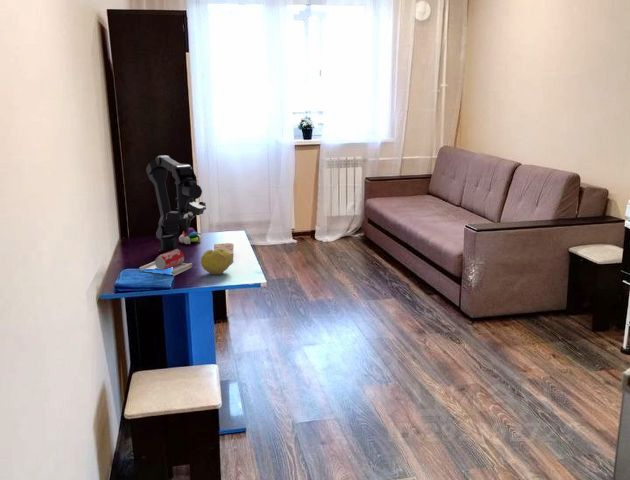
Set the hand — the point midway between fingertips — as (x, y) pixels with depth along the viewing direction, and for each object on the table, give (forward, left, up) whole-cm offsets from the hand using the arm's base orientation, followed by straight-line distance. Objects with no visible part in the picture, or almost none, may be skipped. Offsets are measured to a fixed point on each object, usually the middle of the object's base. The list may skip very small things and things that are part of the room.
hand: (186, 232), depth 248 cm
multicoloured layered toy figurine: (-16, +26, -12) cm, 32 cm away
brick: (+12, +9, -12) cm, 19 cm away
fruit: (+22, -13, -12) cm, 28 cm away
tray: (0, -15, -12) cm, 19 cm away
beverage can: (+1, -7, -8) cm, 11 cm away
